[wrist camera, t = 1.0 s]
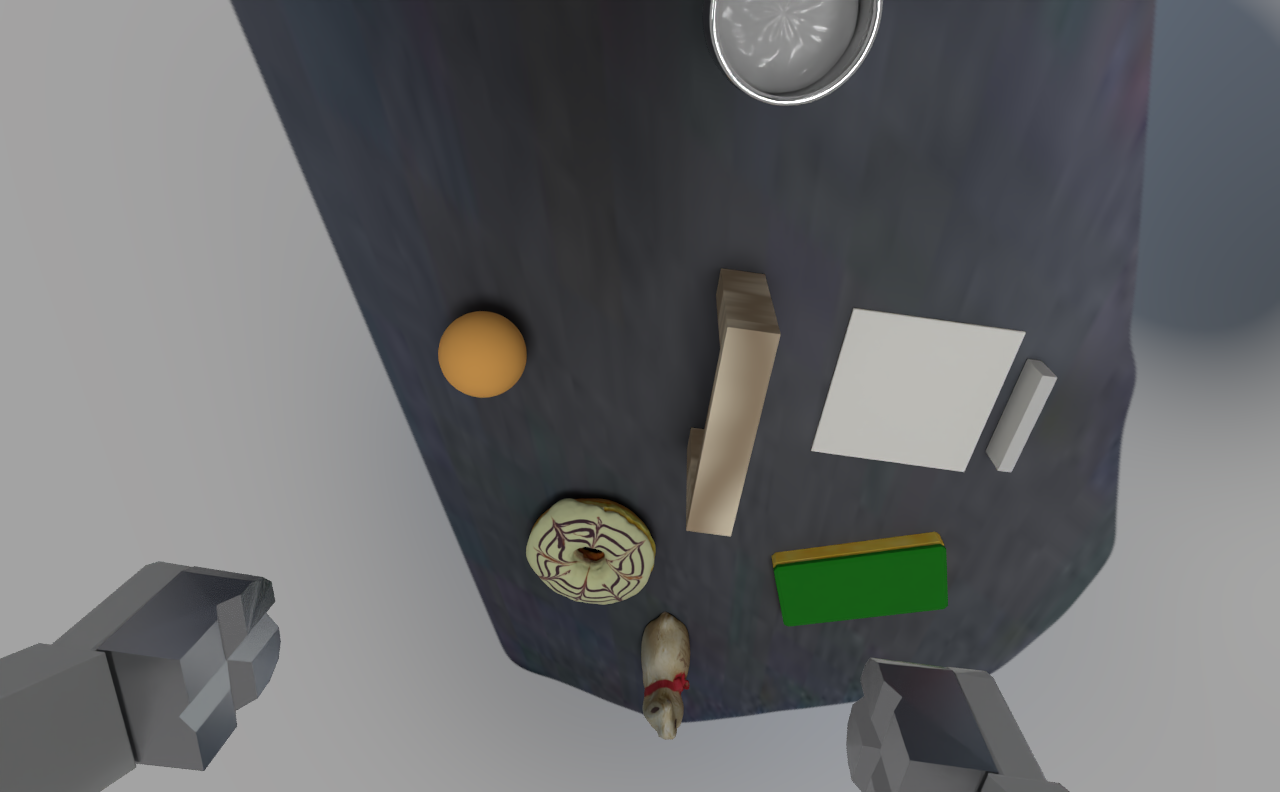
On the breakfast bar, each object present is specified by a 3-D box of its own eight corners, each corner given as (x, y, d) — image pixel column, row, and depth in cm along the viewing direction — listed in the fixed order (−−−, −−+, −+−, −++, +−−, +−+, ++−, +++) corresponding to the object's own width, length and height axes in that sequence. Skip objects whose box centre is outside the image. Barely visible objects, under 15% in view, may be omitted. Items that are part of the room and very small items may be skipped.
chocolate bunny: (622, 657, 68) (612, 755, 59) (658, 607, 64) (653, 703, 55) (673, 676, 68) (670, 775, 60) (711, 628, 65) (714, 726, 56)
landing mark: (853, 307, 48) (853, 308, 48) (1024, 331, 48) (1025, 332, 48) (810, 449, 54) (811, 450, 54) (963, 470, 54) (964, 471, 54)
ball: (452, 292, 49) (424, 327, 44) (536, 304, 49) (517, 340, 44) (453, 366, 52) (427, 407, 47) (532, 377, 52) (515, 419, 47)
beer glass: (750, 101, 42) (776, 148, 29) (674, 3, 40) (666, 7, 27) (848, 13, 39) (925, 21, 26) (773, -98, 37) (817, -149, 24)
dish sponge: (770, 549, 60) (773, 569, 58) (937, 527, 58) (946, 547, 56) (781, 607, 63) (784, 627, 61) (939, 588, 61) (948, 609, 59)
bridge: (687, 448, 55) (686, 530, 46) (721, 268, 47) (727, 327, 39) (724, 453, 55) (730, 536, 46) (764, 274, 47) (780, 334, 39)
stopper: (1027, 358, 49) (1042, 375, 47) (1041, 360, 49) (1057, 377, 47) (985, 451, 53) (997, 470, 51) (998, 452, 53) (1011, 472, 51)
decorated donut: (545, 473, 57) (537, 501, 54) (670, 505, 58) (669, 535, 55) (523, 563, 62) (514, 594, 59) (638, 591, 63) (635, 623, 60)
